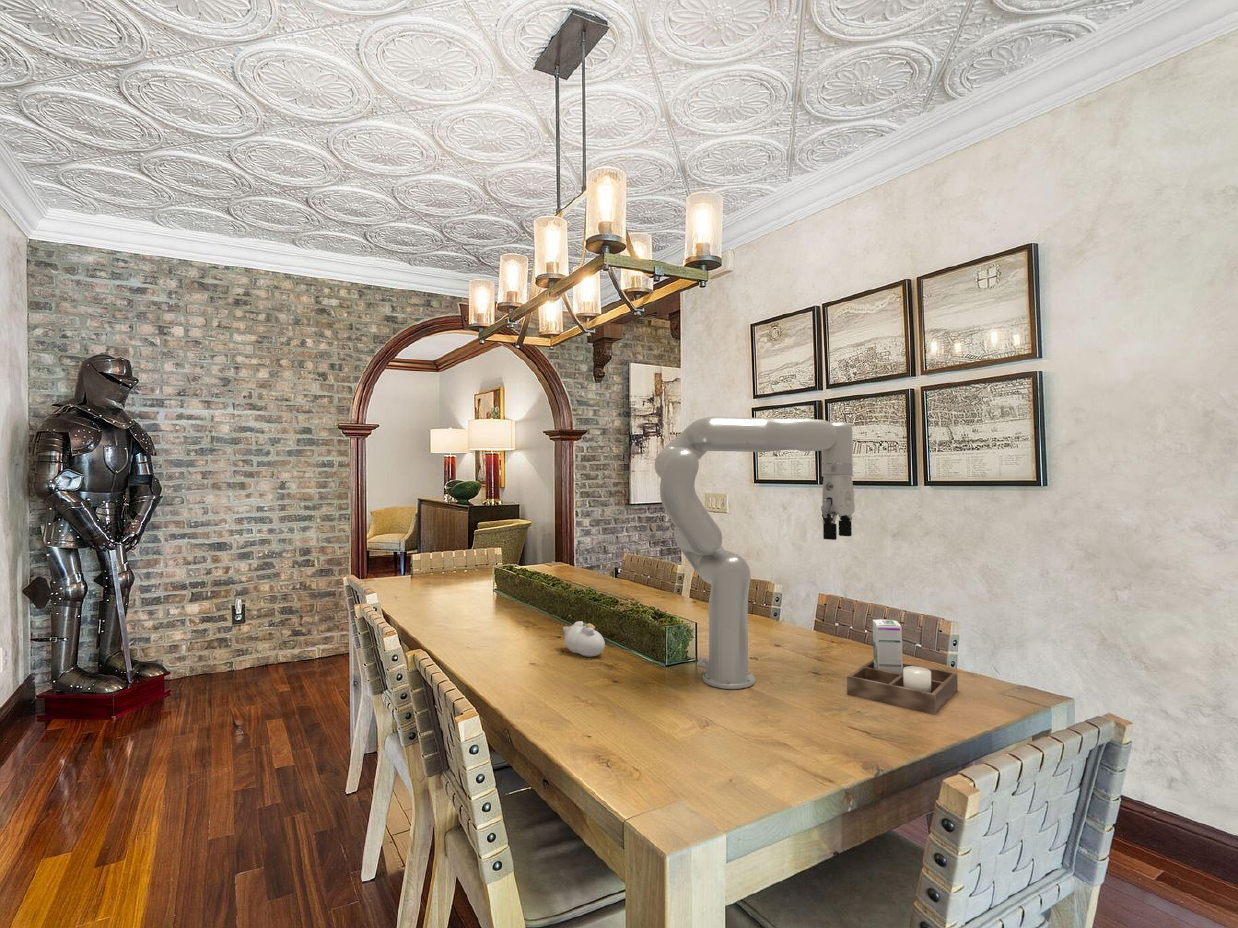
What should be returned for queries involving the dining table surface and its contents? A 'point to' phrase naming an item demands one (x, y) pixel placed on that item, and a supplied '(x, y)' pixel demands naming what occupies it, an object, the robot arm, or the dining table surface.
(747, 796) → the dining table surface
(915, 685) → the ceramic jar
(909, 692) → the tray
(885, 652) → the grey tall block
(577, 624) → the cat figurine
